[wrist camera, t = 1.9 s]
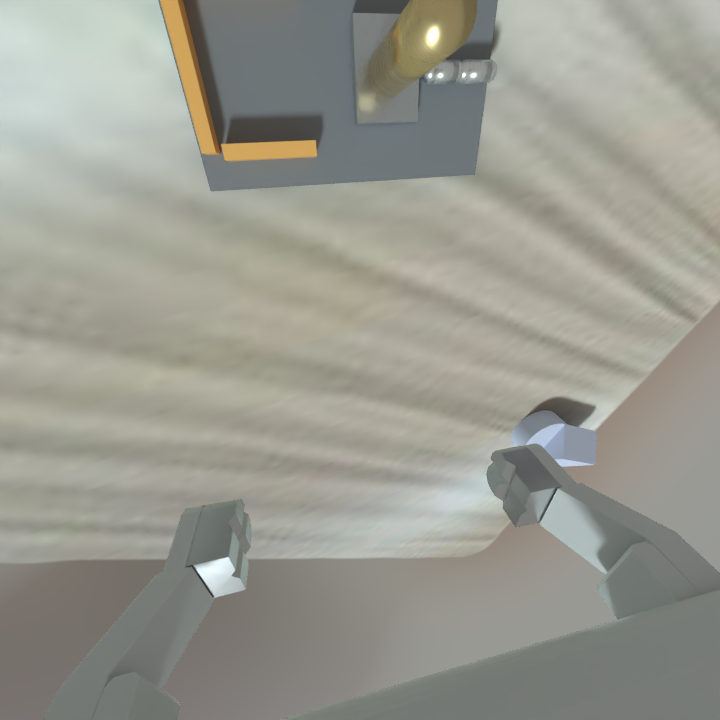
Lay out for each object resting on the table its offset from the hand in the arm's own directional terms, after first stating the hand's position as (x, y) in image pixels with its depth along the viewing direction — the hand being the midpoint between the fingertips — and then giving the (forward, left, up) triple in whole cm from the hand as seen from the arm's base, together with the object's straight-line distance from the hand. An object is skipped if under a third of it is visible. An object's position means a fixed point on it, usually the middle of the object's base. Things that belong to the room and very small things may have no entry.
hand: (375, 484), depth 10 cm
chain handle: (+11, +15, -25) cm, 30 cm away
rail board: (+4, +15, -26) cm, 30 cm away
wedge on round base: (+37, -33, -27) cm, 57 cm away
